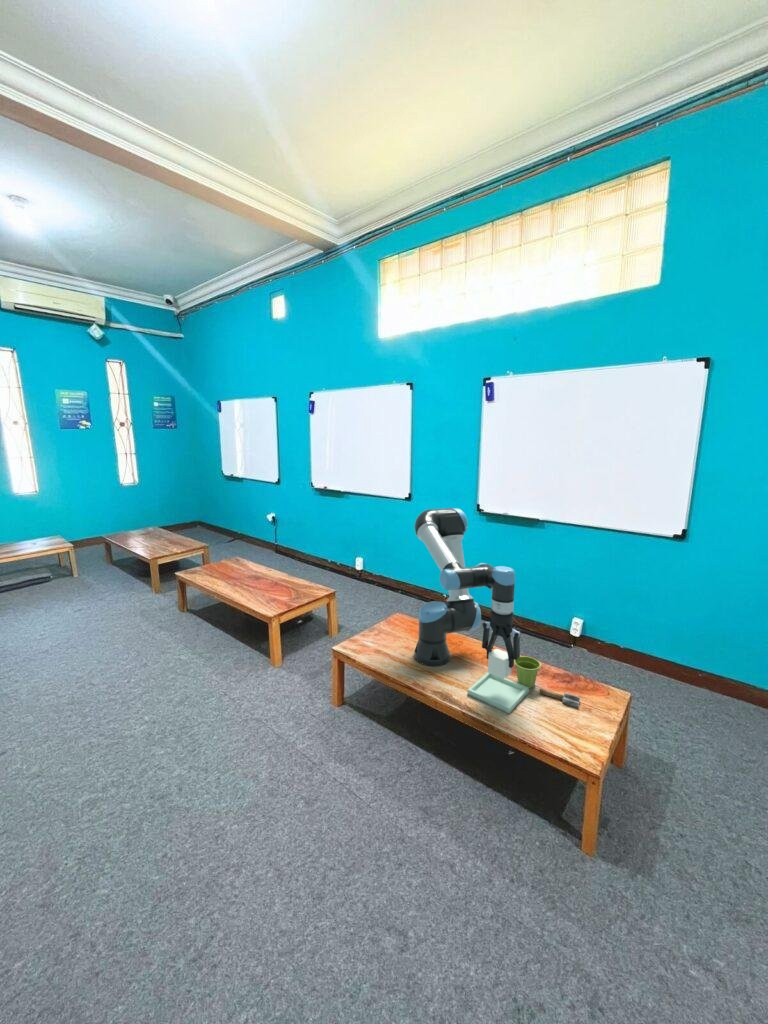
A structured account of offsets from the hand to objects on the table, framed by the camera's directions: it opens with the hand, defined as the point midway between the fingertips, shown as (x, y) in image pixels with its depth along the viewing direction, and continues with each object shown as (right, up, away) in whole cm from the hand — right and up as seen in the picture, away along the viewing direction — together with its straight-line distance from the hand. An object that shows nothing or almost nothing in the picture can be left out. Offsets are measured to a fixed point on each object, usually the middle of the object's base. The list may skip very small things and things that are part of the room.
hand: (499, 671), depth 144 cm
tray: (0, -9, +2) cm, 9 cm away
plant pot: (+12, -8, +8) cm, 17 cm away
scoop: (+21, -9, -1) cm, 23 cm away
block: (0, 0, 0) cm, 0 cm away
